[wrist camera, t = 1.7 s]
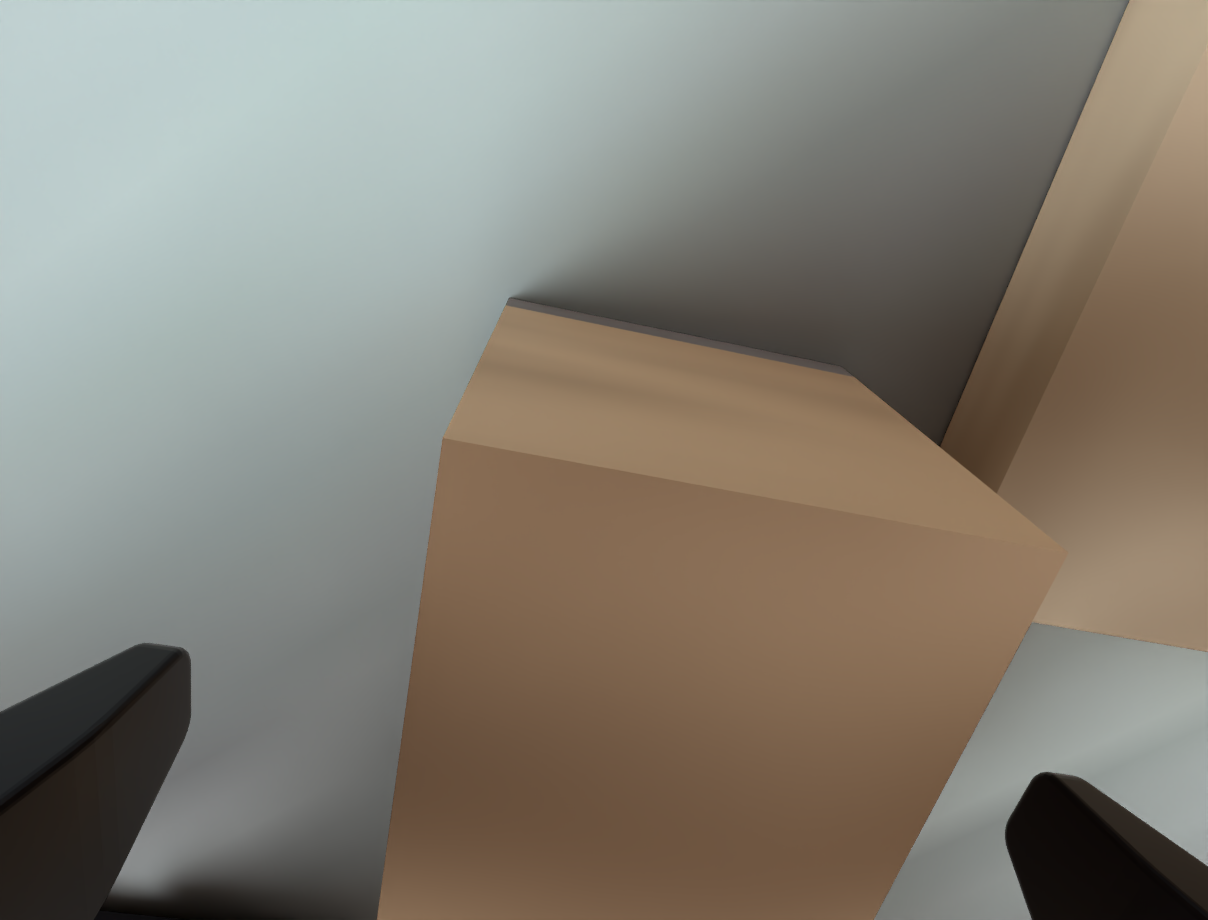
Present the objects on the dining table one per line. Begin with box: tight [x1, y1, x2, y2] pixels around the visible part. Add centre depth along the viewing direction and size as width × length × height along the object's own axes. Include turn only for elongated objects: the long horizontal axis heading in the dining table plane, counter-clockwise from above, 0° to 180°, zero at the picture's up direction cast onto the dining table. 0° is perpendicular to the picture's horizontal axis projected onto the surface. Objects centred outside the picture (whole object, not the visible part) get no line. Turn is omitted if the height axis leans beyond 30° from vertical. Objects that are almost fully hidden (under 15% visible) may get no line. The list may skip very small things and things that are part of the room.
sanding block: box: [377, 298, 1068, 920], centre depth 9 cm, size 7×4×5 cm, turn 168°
